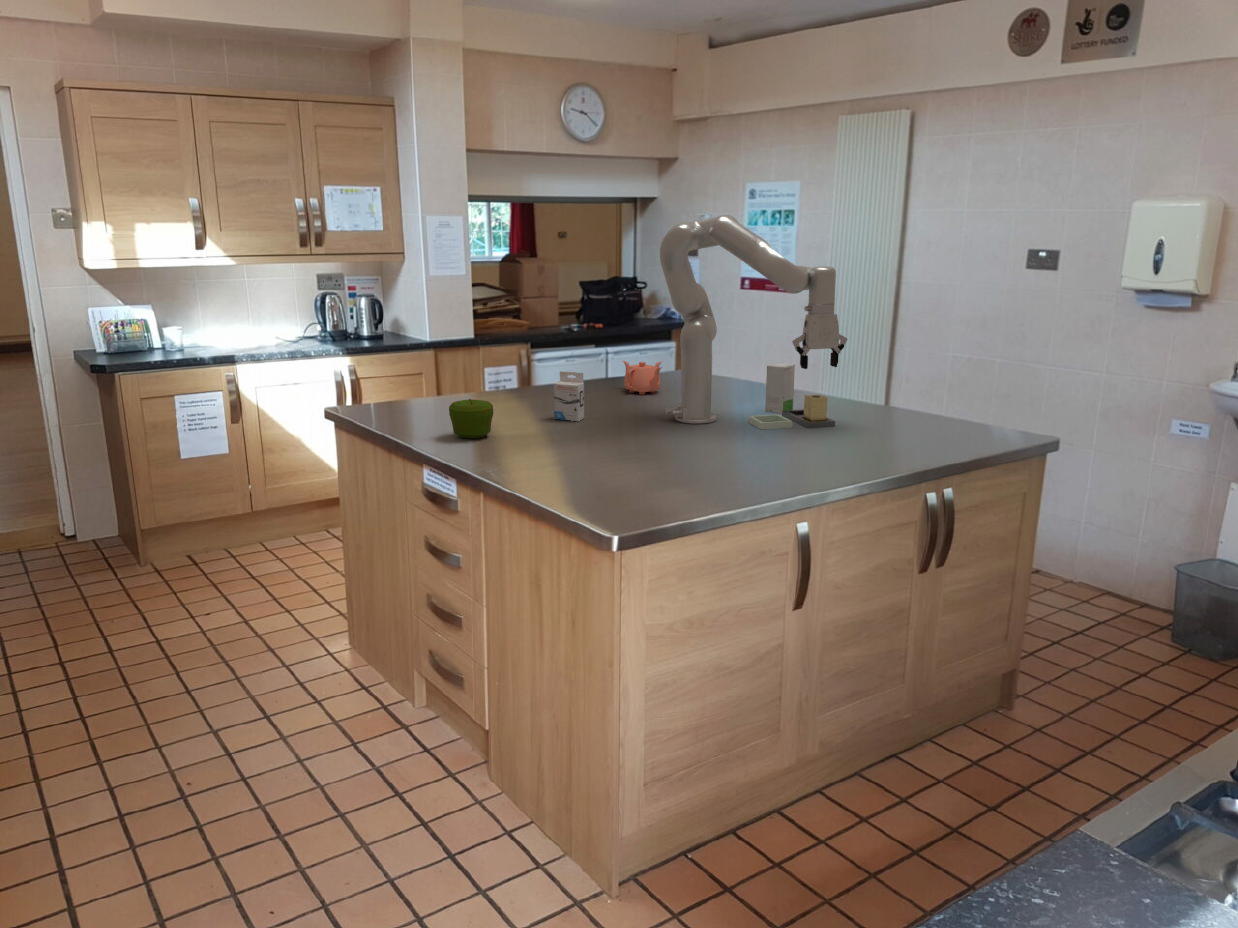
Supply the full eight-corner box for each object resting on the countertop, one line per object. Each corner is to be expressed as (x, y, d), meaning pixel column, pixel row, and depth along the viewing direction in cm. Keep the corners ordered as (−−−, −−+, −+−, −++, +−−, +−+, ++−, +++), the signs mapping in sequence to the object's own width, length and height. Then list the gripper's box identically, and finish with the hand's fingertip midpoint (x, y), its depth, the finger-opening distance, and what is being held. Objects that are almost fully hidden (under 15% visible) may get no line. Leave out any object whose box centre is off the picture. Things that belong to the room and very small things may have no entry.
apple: (450, 442, 261) (448, 403, 258) (450, 432, 273) (448, 395, 270) (494, 441, 263) (493, 402, 260) (493, 431, 275) (492, 393, 272)
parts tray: (761, 431, 274) (761, 423, 273) (748, 424, 283) (748, 416, 283) (792, 429, 277) (792, 421, 276) (778, 422, 286) (778, 414, 285)
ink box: (553, 420, 289) (552, 373, 286) (560, 416, 294) (559, 371, 290) (578, 422, 287) (577, 375, 283) (584, 418, 291) (584, 372, 287)
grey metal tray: (807, 430, 276) (807, 422, 275) (781, 417, 293) (782, 410, 292) (834, 428, 278) (835, 421, 277) (808, 415, 295) (808, 409, 294)
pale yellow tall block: (810, 426, 278) (812, 398, 276) (803, 422, 283) (804, 395, 280) (825, 425, 279) (827, 397, 277) (818, 421, 284) (819, 394, 282)
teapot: (622, 388, 341) (622, 359, 338) (661, 388, 340) (661, 359, 338) (621, 396, 327) (621, 365, 324) (662, 396, 326) (662, 365, 324)
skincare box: (781, 415, 295) (784, 367, 291) (763, 412, 299) (765, 365, 295) (793, 411, 302) (796, 363, 298) (775, 408, 306) (777, 361, 302)
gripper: (799, 312, 266) (797, 371, 271) (854, 309, 270) (851, 367, 275) (788, 309, 273) (786, 367, 278) (841, 307, 277) (839, 364, 282)
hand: (818, 367), depth 276 cm, fingers open, 9 cm apart
